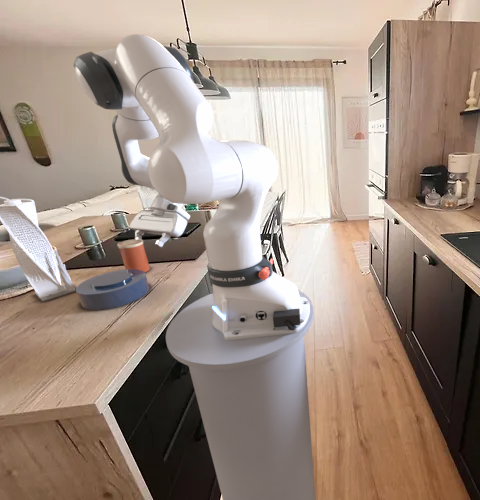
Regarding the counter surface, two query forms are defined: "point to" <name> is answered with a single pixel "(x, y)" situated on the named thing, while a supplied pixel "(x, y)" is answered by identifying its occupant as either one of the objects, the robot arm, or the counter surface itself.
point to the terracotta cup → (134, 255)
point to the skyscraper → (34, 250)
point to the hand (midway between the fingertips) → (147, 244)
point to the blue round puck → (112, 289)
